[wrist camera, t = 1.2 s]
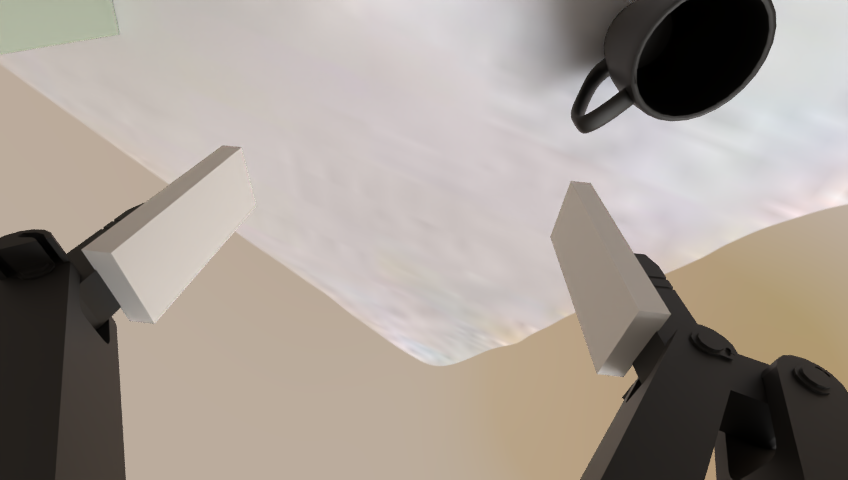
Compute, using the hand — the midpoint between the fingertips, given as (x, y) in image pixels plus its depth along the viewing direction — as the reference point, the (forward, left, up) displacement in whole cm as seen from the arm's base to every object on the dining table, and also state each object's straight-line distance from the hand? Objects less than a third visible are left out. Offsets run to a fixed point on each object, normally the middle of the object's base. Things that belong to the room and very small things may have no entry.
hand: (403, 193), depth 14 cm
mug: (-6, +15, -23) cm, 28 cm away
